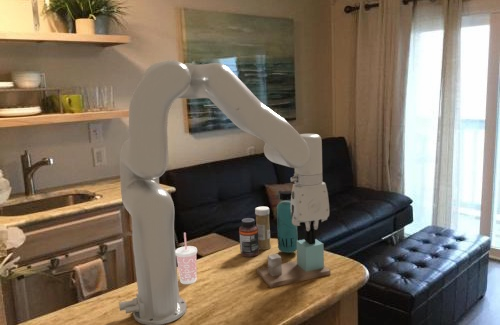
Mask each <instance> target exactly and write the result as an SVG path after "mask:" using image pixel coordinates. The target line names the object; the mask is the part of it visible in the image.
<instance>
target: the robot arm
mask: <svg viewBox="0 0 500 325" xmlns="http://www.w3.org/2000/svg"><path fill="white" fill-rule="evenodd" d="M132 92H133V93H132V95H131V97H130V98H131V99H130V102H129V107H128V138H127V139H126V140H125V141H124V142H123V144H122V146H121V148H120V151H119V176H120V177H119V178H120V181H119V182H120V195H121V201H122V204H123V207H124V208H125V209H126V211H127V212H128V213H129V215H130V216H131V223H132V226H131V228H132V249H133V255H134V265H135V266H134V267H135V274H136V275H135V276H136V286H137V287H136V288H137V293H135V294H136V297H135V298H132V300H127V301H125V300H124V301H121V302H119V303H118V304H119V306H118V307H119V311H120V312H121V311H125V314H126V315H127V314H131V313H132V314H133V318H134V320H135V321H136V322H138V323H139V324H142V325H165V324H169V323H172V322H174V321H176V320H178V319H180V318H181V317H182V316H184V314H186V311H187V306H188V305H187V302H186V300H185V299H184V298H183V297H181V296H180V292H179V291H180V290H179V288H180V287H179V280H178V279H179V278H178V264H177V257H176V253H175V250H176V243H175V206H174V205H175V204H174V201H173V198H172V196H171V195H170V193H169V192H168V191H167V190H166V189H165V188H164V187H162V186H161V185H160V177H162V176H163V175H164V174H165V173H166V172H167V169H168V166H169V145H168V144H169V143H168V141H169V140H168V139H169V138H168V137H169V136H168V118H169V113H170V109H171V106H172V105H173V103H174V102H175V101H177V99H209V100H210V102H212V103H213V104H214V105H215V106H216V107H217V108H218V109H219V111H221V112H222V113H223V114H224V115H225V116H226V117H227V118H228V119H229V120H230V121H231V123H233V124H234V125H235V126H236V127H238V128H239V129H240V130H241V131H243V132H245V133H247V134H249V135H251V136H254V137H256V138H258V139H259V140H261V141H263V142H264V146H263V153H264V156H265V157H266V158H267V160H269V161H270V162H272V163H274V164H278V165H281V166H285V167H288V168H291V169H294V173H293V176H292V177H290V183H294V184H292V188H291V192H292V194H291V200H290V201H291V217H292V222H291V223H292V224H293V225H296V226H297V227H299V226H300V227H301V228H302V229H303V240H305V241H306V242H307V243H309V244H312V243H313V244H315V239H317V230H318V228H319V226H320V224H321V223H323V222H324V221H327V220H328V218H329V217H330V202H329V192H328V188H327V184H326V182H324V181H323V145H322V144H323V142H322V137H321V136H320V135H319V134H317V133H299V132H298V130H296V128H294V127H293V126H292V125H291V124H290V123H289V122H288V121H287V120H286V119H285V118H284V117H282V116H280V115H279V114H277V113H276V112H275V111H273V110H272V109H271V108H270V107H268V106H266V105H265V104H264V103H263V102H261V100H259V98H257V96H255V94H254V93H253V92H252V91H251V90H250V89H249V87H247V85H246V84H245V83H244V82H243V81H242V80H241V79H240V78H239V77H238V76H237V75H236V73H234V72H233V71H232V70H231V69H230V68H229V66H227V65H225V64H223V63H220V62H211V63H204V64H184V63H183V62H180V61H179V60H173V59H170V60H164V61H159V62H156V63H153V64H151V65H150V66H148V67H147V69H145V72H144V73H143V77H142V79H140V81H139V82H138V84H137V86H136V87H135V88H134V91H132Z"/></svg>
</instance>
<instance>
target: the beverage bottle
mask: <svg viewBox="0 0 500 325" xmlns="http://www.w3.org/2000/svg"><path fill="white" fill-rule="evenodd" d="M291 194H292V190H282V191H280V192H279V199H280V200H281V201H280V202H279V203H278V204H277V205H276V226H277V235H276V236H277V241H276V242H277V248H278V250H279V251H280V252H283V253H294V252H297V241H298V237H299V236H298V226H296V225H293V224H292V223H291V222H292V217H291Z"/></svg>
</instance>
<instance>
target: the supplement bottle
mask: <svg viewBox="0 0 500 325" xmlns="http://www.w3.org/2000/svg"><path fill="white" fill-rule="evenodd" d="M255 223H256V221H255V219H254V218H251V217H247V218H246V217H245V218H243V219H241V225H240V226H239V227H238V233H239V234H238V235H239V248H240V254H241V256H243V257H245V258H247V257H248V258H253V257H256V256H258V255H259V253H260V249H259V239H258V227H257V226H256V224H255Z"/></svg>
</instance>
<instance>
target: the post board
mask: <svg viewBox="0 0 500 325" xmlns="http://www.w3.org/2000/svg"><path fill="white" fill-rule="evenodd" d="M256 274H257V275H258V276H260V278H261V279H262V280H263V281H264V282H265V284H267V285H268V287H270V288H276V287H280V286H284V285H289V284H294V283H298V282H302V281H307V280H312V279H316V278H320V277H325V276H330V275H331V270H330V269H329V268H328V267H326V266H325V265H324V268H321V269H316V270H311V271H307V272H306V271H305V270H304V269H302V268H301V267H300V266H299V265H298V264H297V260H294V261H289V262H284V263H282V257H281V255H279V254H278V253H274V254H270V255H269V254H268V255H267V266H265V267H258V268H256Z"/></svg>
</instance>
